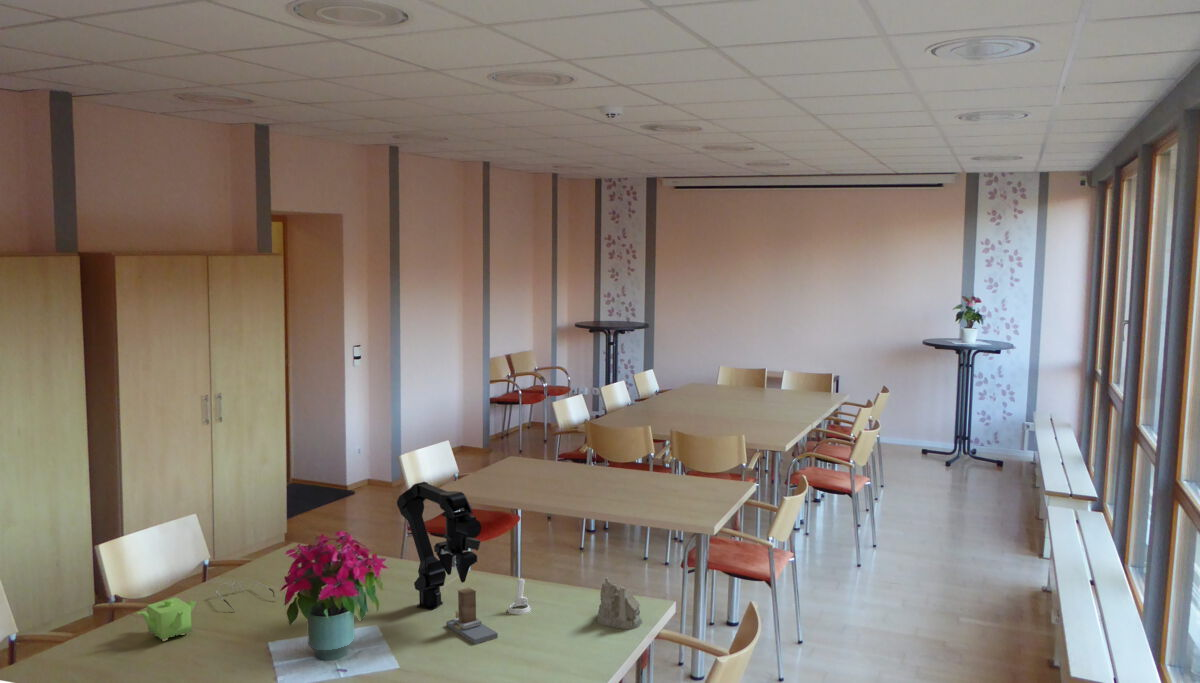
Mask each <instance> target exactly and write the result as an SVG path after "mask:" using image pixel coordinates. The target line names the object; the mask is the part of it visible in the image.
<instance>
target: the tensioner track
mask: <svg viewBox="0 0 1200 683" xmlns="http://www.w3.org/2000/svg"><path fill="white" fill-rule="evenodd" d="M455 618H459V609H458V610H455ZM455 618H453V619H451V620H450V619H449V620H447V621H446V625H445V626H446V627H447V626H448V627H447V628H449V629H450V628H451V629H450V630H452V631H453V630H454V631H453V632H455V633H457V634H458V633H459V634H458V635H459V636H461V635H462V636H461V637H463V638H464V637H465V638H464V639H466V640H467V639H468V640H467V641H469V640H470V641H471V643H472V644H474V645H477V643H478V644H481V643H484V642H483V641H485V642H487V641H486V640H488V641H490V639H491V640H493V638H495V639H497V638H496V637H498V636H499V634H498V632H496V631H495V630H493V629H492V628H490V627H489V626H487V625H486V624H483V623H482V622H481V625H479V626H475V627H472V628H468V629H463V628H461V627H460V626H458V625H457V624H455V623H454V619H455ZM470 641H469V642H470ZM480 642H481V643H480Z"/></svg>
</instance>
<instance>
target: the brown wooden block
mask: <svg viewBox="0 0 1200 683" xmlns="http://www.w3.org/2000/svg"><path fill="white" fill-rule="evenodd" d="M476 592H477V591H476V590H474V589H473V588H471V587H467V588H462V589H458V590H457V594H458V596H457V600H458V605H457V606H458V610H459V618H456V617H455V618H453V619H454V623H455V624H457V625H458V626H460V627H461V628H463V629H468V628H472V627H475V626H479V625H481V623H482V620H481V619H479V618H477V601H476V600H477V599H476V598H477V596H476V595H477V594H476Z"/></svg>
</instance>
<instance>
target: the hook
mask: <svg viewBox="0 0 1200 683" xmlns="http://www.w3.org/2000/svg"><path fill="white" fill-rule="evenodd" d="M525 582H526V580H525V579H524V578H518V579H517V584H516V592H515V598H514V602H513V603H511V604H510V605H509V607H508V609H507V613H508V612H509V613H508V614H510V613H511V614H510V615H513V614H524V613H527V612H529V611H530V610H531V611H532V609H531V606H530V605H529V604H528V598H527V597H526V596H524V589H525ZM516 606H525V607H523V608H521V609H520V608H519V609H517V607H516ZM513 607H514V608H513ZM531 611H530V612H531ZM530 612H529V613H530ZM527 614H528V613H527ZM524 615H525V614H524Z"/></svg>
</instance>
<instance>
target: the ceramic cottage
mask: <svg viewBox="0 0 1200 683" xmlns="http://www.w3.org/2000/svg"><path fill="white" fill-rule="evenodd" d="M617 586H618V584H616V583H614V584H612V582H611V580H609V577H607V576H606V577H605V578H604V583H601V589H600V595H599V596H600V604H599V608H598V610H597V611H598V612H597V614H598V615H597V618H598V619H596V621H597V620H598V621H599V622H600V623H599V622H598V621H597V622H598V623H599V624H600V625H602V624H603V625H602V626H605V625H607V627H611V626H612V627H611V628H615V627H616V629H620V628H621V630H635V629H638V628H640V627H641V625H642V624H643V619H642V618H641V616H640V613H641V610H640V607H641V605H640V603H639V602H638V600H637V599H636V597H635V596H634V594H633V593H632V591H631V590H630V589H629V588H628V589H626V587H625V586H621V587H620V588H619V589H618V588H617Z"/></svg>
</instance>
